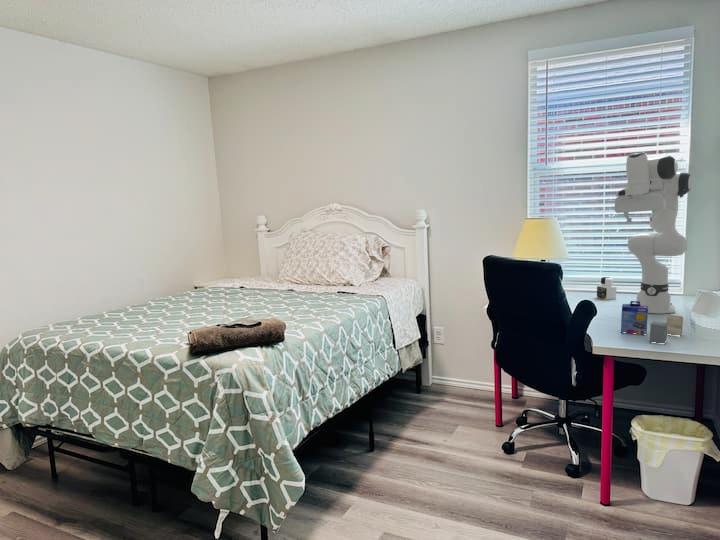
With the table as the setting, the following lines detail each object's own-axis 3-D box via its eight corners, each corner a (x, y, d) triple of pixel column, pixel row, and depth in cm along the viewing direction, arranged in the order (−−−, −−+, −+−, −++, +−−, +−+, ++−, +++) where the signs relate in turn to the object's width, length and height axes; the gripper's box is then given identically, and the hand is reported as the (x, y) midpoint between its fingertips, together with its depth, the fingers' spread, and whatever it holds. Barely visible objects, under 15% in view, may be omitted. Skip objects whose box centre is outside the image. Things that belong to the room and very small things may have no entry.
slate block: (652, 340, 205) (653, 321, 204) (666, 342, 202) (667, 322, 201) (649, 343, 202) (650, 323, 200) (663, 345, 198) (664, 325, 197)
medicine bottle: (596, 297, 285) (597, 277, 283) (606, 296, 287) (607, 276, 285) (606, 300, 278) (606, 279, 276) (616, 298, 280) (617, 277, 278)
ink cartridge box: (620, 333, 216) (622, 301, 213) (620, 330, 220) (622, 298, 218) (646, 335, 211) (648, 302, 209) (646, 332, 216) (648, 299, 214)
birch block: (668, 332, 214) (669, 314, 213) (681, 334, 211) (683, 316, 210) (665, 335, 211) (666, 317, 209) (679, 337, 207) (680, 318, 206)
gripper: (667, 187, 213) (669, 219, 215) (617, 192, 229) (619, 222, 230) (662, 188, 209) (664, 220, 211) (612, 193, 224) (614, 223, 226)
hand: (640, 221), depth 221 cm, fingers open, 8 cm apart
